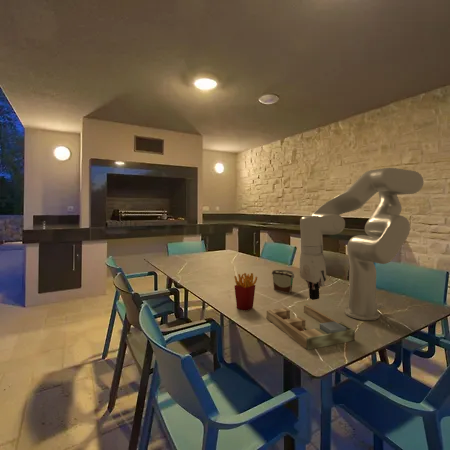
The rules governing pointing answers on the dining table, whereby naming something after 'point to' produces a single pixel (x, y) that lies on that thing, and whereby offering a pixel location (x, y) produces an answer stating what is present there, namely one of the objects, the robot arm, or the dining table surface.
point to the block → (331, 327)
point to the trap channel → (312, 336)
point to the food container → (283, 280)
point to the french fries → (245, 291)
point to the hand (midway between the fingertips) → (314, 298)
